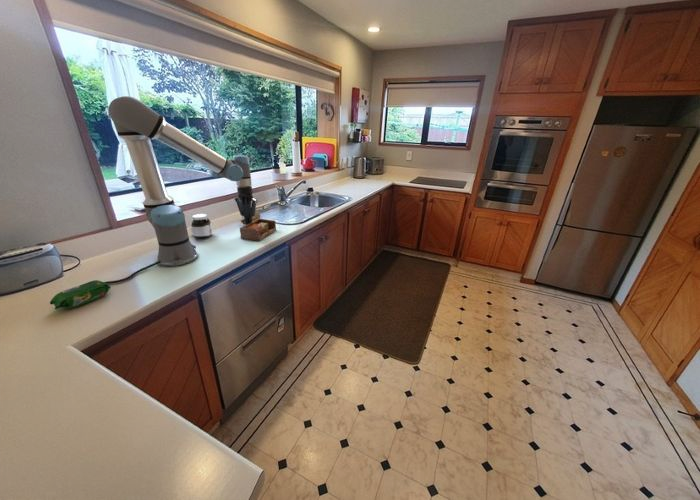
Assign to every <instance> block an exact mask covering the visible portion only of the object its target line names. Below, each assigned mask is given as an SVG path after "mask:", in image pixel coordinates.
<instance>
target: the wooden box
mask: <svg viewBox="0 0 700 500" xmlns="http://www.w3.org/2000/svg"><path fill="white" fill-rule="evenodd" d="M239 231H240V232H239V233H240V234H239V235H240V239H243V240H248V241H254V242H261V241H262V240H264V239H265V238H267V237H268V236H270V235H271V234H273V233H274V232H276V231H277V225H276V220H273V219H265V218H260V219H257V220H255V221H253V222H251V223H249V224H247V225H245V224H244V225H243V226H241V227H239Z"/></svg>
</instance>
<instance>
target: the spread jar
mask: <svg viewBox="0 0 700 500" xmlns="http://www.w3.org/2000/svg"><path fill="white" fill-rule="evenodd" d="M191 217H192V221H191V224H190V226H189V231H190V232H191V233H192V235H193V237H194V238H196V239H202V240H203V239H207V238H210V237H211V236H212V233H213V227H212V221H211V220H210V219H209V218H208V215H207V213H197V214H193V215H192V216H191Z"/></svg>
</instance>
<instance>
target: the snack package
mask: <svg viewBox="0 0 700 500" xmlns="http://www.w3.org/2000/svg"><path fill="white" fill-rule="evenodd" d="M105 282H106V281H102V280H99V279H95V280H89V281H87V282H86V283H83V284H80V285H76V286H74V287H71V288H68V289H65V290H62V291H60V292H58V293H56V294H55V295H54V296H53V297H52V298H51V299H50V301H49V304H50V305H52V306H53V305H54V310H58V309H61V308H64V309H72V308H77V307H79V306H82V305H85V304H87V303H90V302H92V301H95V300H97V299H99V298H102V297H104V296H106V295H107V294H108V292H109V291H110V290H111V288H112V287H111V285H110V284H107V283H105Z"/></svg>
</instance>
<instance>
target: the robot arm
mask: <svg viewBox="0 0 700 500" xmlns="http://www.w3.org/2000/svg"><path fill="white" fill-rule="evenodd" d="M108 115H109V117H110V119H111V121H112V122H113V126H114V128H115V130H116V133H117V137H119V138H120V139H122V140H123V141H124V142H125V145H126V148H127V151H128V154H129V156H130V159H131V162H132V165H133V167H134V170H135V173H136V176H137V179H138V181H139V184H140V187H141V190H142V192H143V196H144V198H145V199H144V200H143V202H142V206H143V208H144V210H145V216H146V219H147V221H148V222H149V223H150V225H151V226H152V227H153V229H154V233H155V236H156V240H157V244H158V252H157V256H156V257H157V258H156V259H157V261H156V262H153V263H152V264H149V265H147V266H144V267H142V268H140V269H138V270H135V271H134V272H132V273H131V274H130V275H128V276H126V277H124V278H121V279H116V280H108V281H104V282H105V283H107V284H108V285H111V284H118V283H121V282H125V281H128V280H130V279H132V278H133V277H134V276H135V275H138V274H139V273H141V272H142V271H145V270H148V269H150V268H152V267H154V266H157V265H160V266H162V267H178V266H184V265H187V264H189V263H191V262H194V261H195V260H196V259H197V258H198V252H197V250H196V249H197V247H196V245H194V244H192V242H191V241H190V237H189V232H188V228H187V227H188V226H187V223H186V215H185V213H184V210H183V209H182V207H180V206H177V205H176V204H175V201H174V198H173V197H172V196H170V195H169V194H168V191H167V188H166V184H165V181H164V179H163V175H162V172H161V169H160V166H159V162H158V160H157V156H156V153H155V150H154V148H153V143H152V141H151V140H157V141H159V142H161V143H163V144H165V145H166V146H168V147H169V148H171V149H173V150H175V151H177V152H179V153H181V154H182V155H185V156H186V157H188V158H190V159H192V160H194V161H195V162H197V163H199V164H201V165H202V166H203V167H205V168H207V169H208V171H209V174H210V176H211V177H213V178H219V177H221V178H225V179H226V180H229V181H231V182H235V183H236V186H237V187H236V190H237V191H236V193H237V197H235V198H234V201H235V202H236V205H237V208H238V211H239V214H240V216H241V217H242V216H244V219H245V222H246V225H247V224H249V223H251V222H252V217H253V216H255V210H257V208H256V207H257V204H258V199H256V198H254V195H253V186H252V177H251V164H250V163H251V162H250V158H249V157H248V156H247V155H245V154H236V155H233V157H232V159H227V158H225V157H224V156H222V155H220V154H219V153H218V152H216V151H214V150H212V149H210V148H209V147H208V146H206V145H204V144H203V143H201V142H200V141H198V140H197V139H194V138H193V137H191V136H189V134H186V133H185V132H183V131H182V130H180V129H179V128H177V127H176V126H173V125H172V124H170V123H169V122H167V121H166V119H165V117H164V116H162V115H161V114H159V113H157V111H155V110H154V109H152V108H151V107H149V106H148V105H147V104H146V103H144V102H143V101H141V100H140V99H138V98H136V97H133V96H124V95H123V96H119V97H117V98H114V99H113V100H112V101H110V103H109V105H108Z"/></svg>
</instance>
